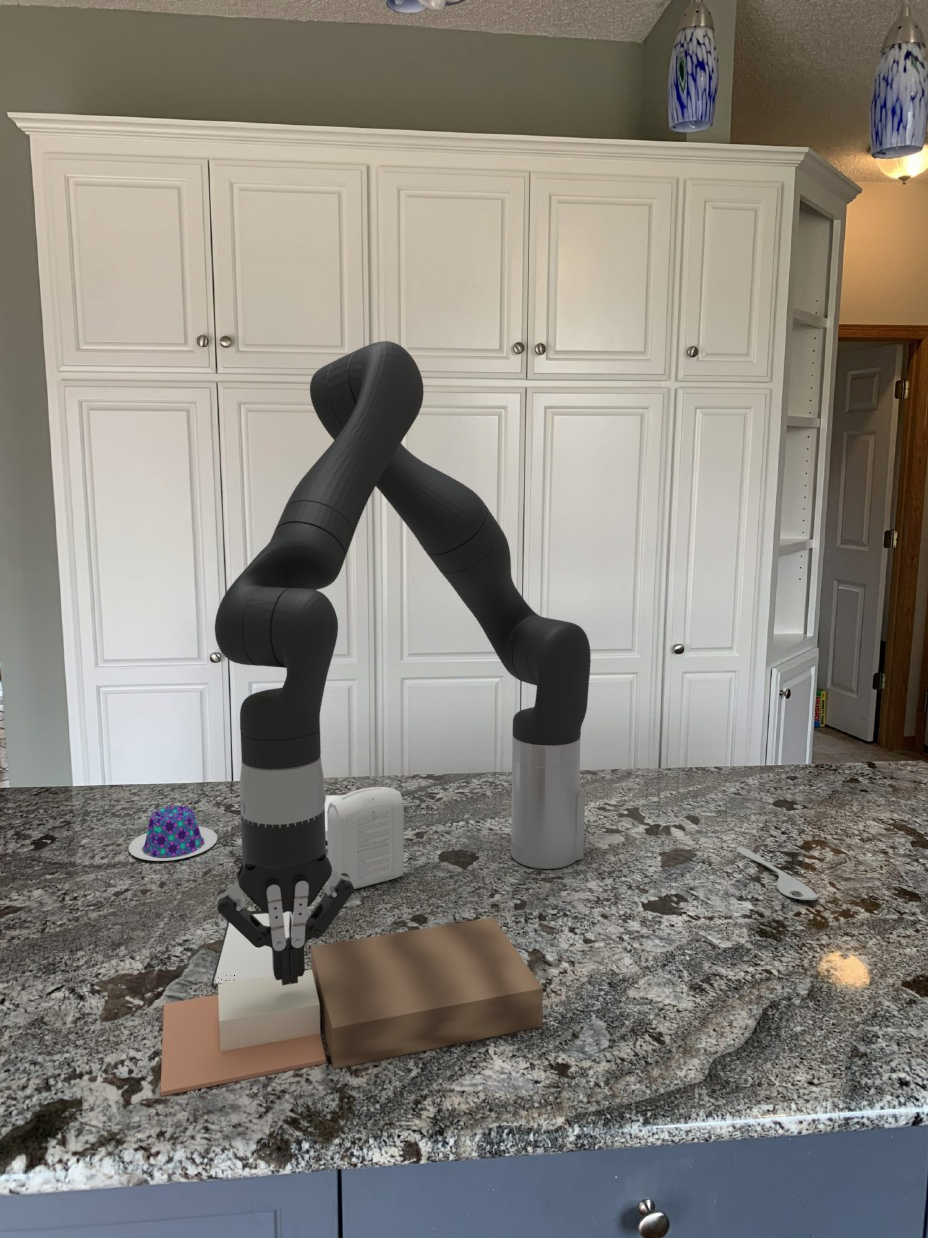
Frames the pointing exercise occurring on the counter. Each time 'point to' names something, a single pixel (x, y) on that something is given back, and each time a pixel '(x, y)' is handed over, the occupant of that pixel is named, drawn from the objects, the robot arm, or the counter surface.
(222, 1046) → the cream brick
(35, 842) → the counter surface
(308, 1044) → the mat
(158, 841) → the purple patterned hat
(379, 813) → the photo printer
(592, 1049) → the counter surface
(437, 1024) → the deck
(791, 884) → the spoon
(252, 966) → the smartphone
